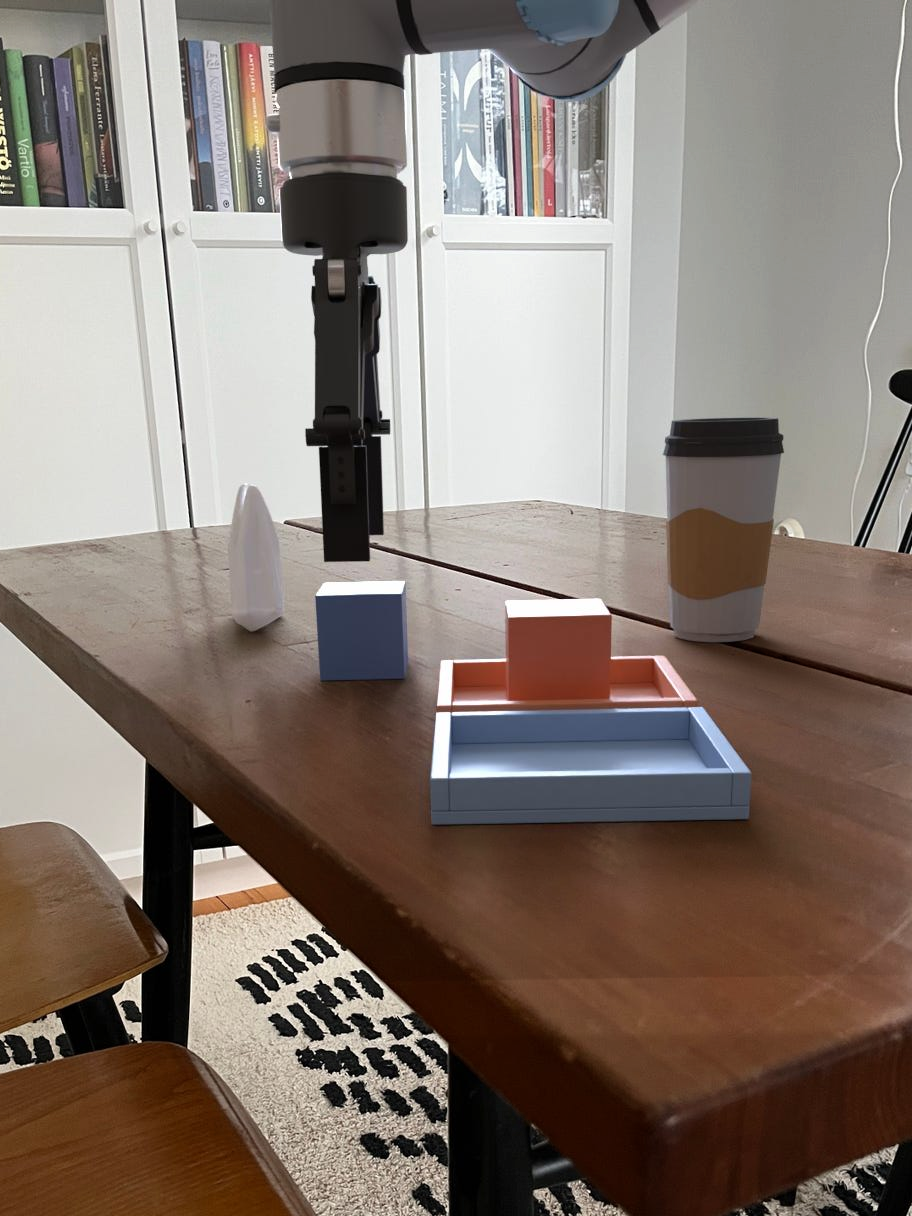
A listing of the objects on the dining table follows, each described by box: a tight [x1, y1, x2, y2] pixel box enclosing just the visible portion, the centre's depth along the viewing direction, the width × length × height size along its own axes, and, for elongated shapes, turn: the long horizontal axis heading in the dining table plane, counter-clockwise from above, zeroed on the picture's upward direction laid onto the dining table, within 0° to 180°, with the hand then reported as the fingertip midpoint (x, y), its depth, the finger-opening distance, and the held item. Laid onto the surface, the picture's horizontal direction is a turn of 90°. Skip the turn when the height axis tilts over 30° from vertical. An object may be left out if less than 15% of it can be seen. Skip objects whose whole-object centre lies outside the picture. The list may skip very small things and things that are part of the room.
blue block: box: [314, 580, 409, 682], centre depth 83 cm, size 6×6×6 cm
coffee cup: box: [662, 417, 785, 643], centre depth 90 cm, size 8×8×15 cm
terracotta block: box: [504, 598, 613, 701], centre depth 71 cm, size 6×6×6 cm
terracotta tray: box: [436, 655, 699, 714], centre depth 71 cm, size 14×12×2 cm
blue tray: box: [429, 706, 753, 826], centre depth 59 cm, size 14×12×2 cm
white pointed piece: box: [227, 483, 286, 632], centre depth 100 cm, size 12×4×11 cm, turn 7°
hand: (356, 547), depth 82 cm, fingers open, 13 cm apart
